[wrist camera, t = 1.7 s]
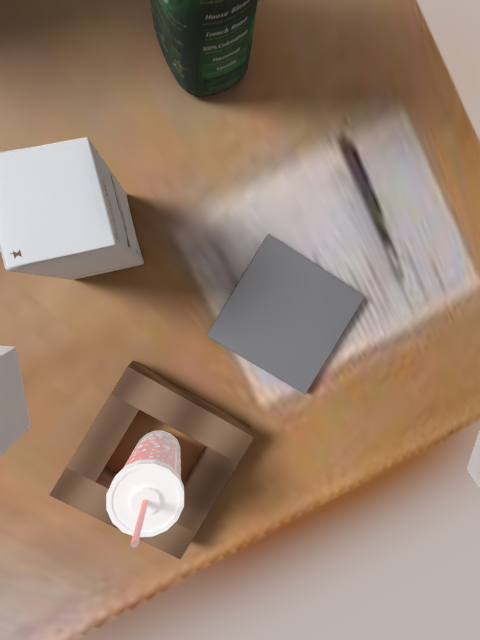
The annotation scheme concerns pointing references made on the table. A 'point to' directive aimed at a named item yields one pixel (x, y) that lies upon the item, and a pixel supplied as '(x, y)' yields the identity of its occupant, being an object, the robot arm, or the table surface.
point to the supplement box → (64, 213)
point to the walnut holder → (176, 411)
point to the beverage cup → (148, 488)
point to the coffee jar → (205, 41)
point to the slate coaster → (285, 314)
